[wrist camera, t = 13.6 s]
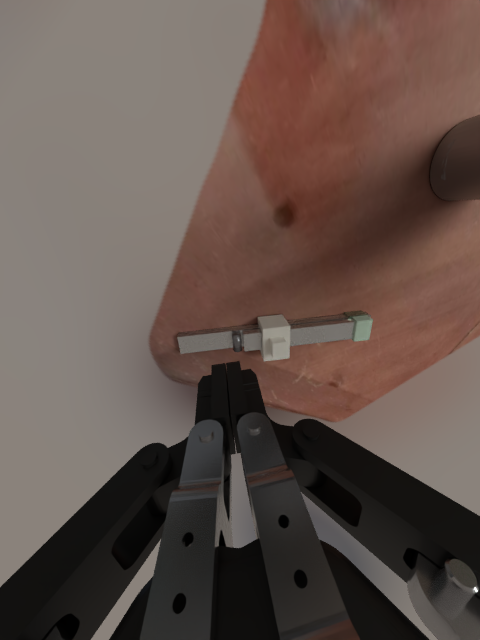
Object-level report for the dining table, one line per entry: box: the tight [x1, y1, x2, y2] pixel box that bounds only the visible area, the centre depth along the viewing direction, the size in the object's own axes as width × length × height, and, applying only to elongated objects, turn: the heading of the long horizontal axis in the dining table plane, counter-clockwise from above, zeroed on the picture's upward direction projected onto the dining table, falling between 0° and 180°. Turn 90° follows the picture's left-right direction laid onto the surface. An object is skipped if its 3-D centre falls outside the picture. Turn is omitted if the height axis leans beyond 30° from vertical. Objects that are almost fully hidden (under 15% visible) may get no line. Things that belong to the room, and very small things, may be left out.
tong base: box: [177, 311, 371, 354], centre depth 37 cm, size 31×4×3 cm, turn 94°
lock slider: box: [258, 314, 290, 361], centre depth 35 cm, size 4×6×6 cm
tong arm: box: [243, 315, 373, 351], centre depth 36 cm, size 20×4×2 cm, turn 94°
